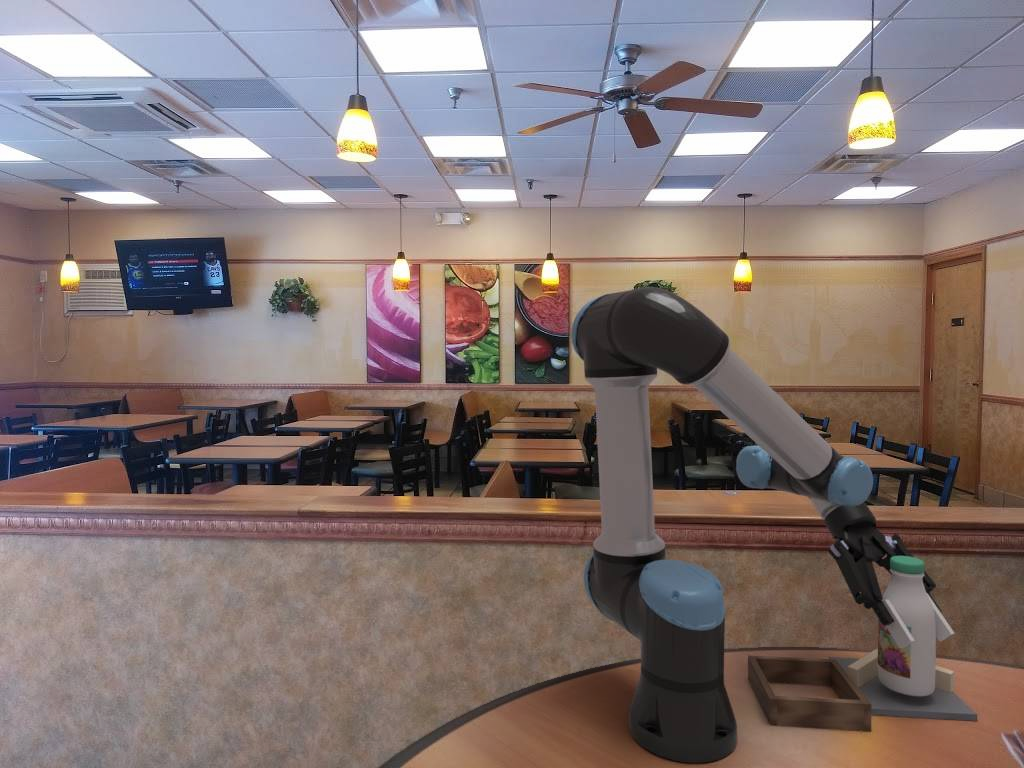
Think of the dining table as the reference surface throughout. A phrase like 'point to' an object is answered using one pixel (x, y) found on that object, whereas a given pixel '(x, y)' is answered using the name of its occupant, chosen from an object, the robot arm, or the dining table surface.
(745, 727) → the dining table surface
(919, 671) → the milk bottle
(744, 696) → the dining table surface
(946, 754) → the dining table surface
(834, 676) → the walnut collar
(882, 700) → the v cradle
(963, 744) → the dining table surface
